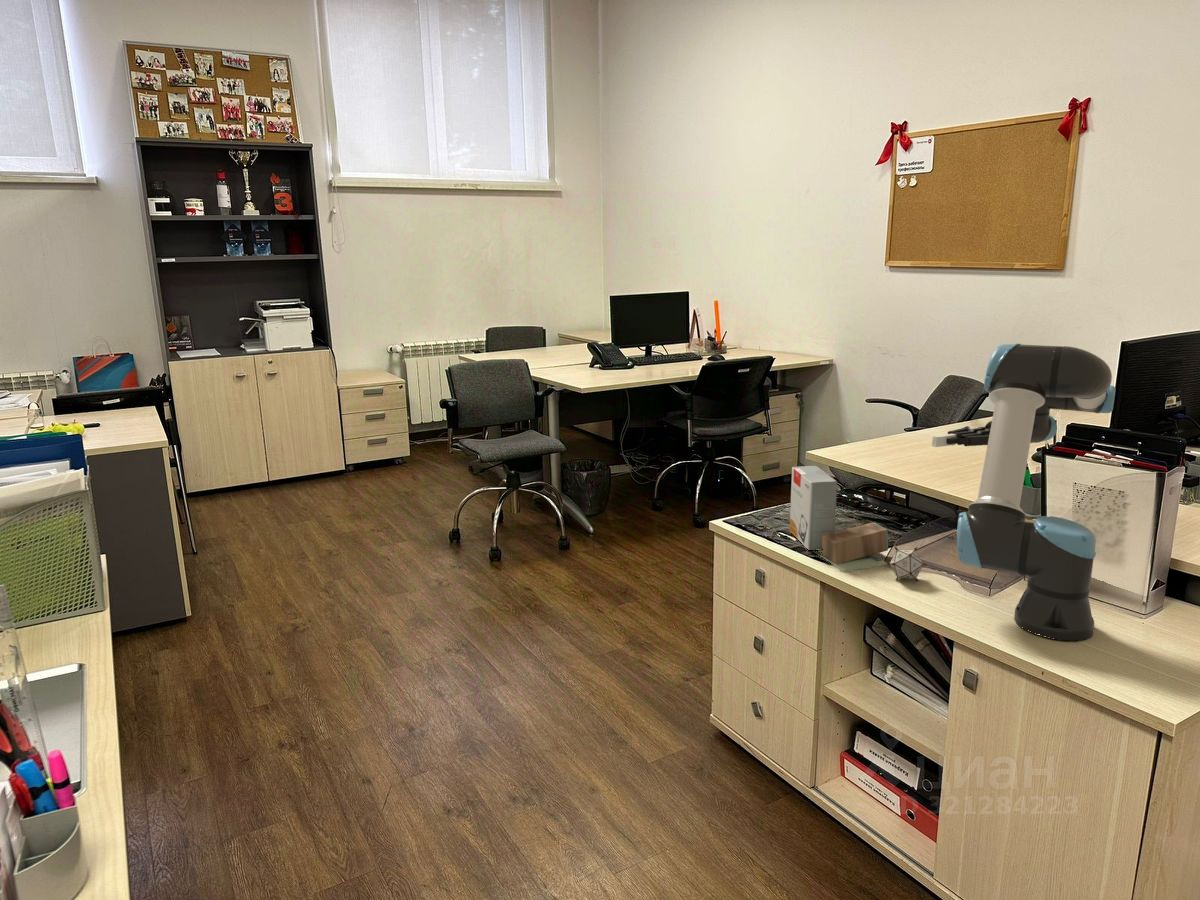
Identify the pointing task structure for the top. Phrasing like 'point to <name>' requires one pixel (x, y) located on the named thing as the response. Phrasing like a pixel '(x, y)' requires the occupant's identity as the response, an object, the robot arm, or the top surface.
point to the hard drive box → (812, 505)
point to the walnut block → (855, 543)
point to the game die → (906, 564)
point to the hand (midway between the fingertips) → (934, 441)
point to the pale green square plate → (859, 563)
